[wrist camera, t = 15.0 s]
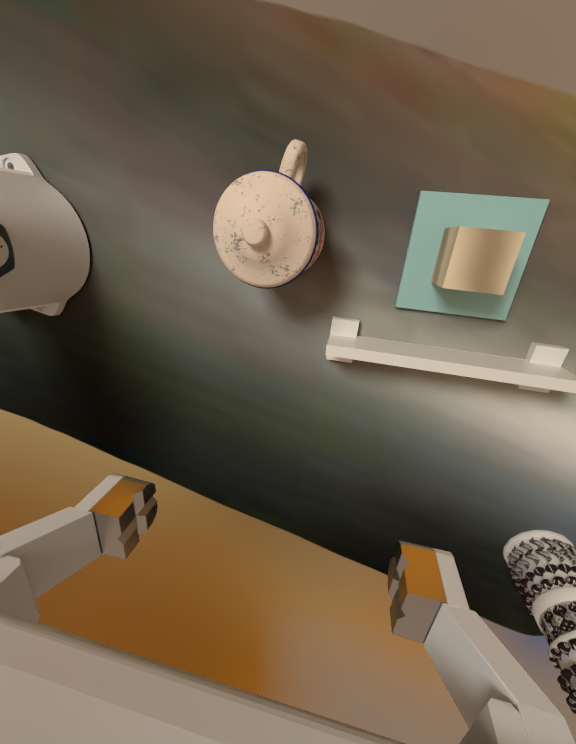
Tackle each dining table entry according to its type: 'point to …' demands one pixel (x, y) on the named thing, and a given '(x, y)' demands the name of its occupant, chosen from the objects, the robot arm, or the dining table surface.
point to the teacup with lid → (269, 224)
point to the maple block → (476, 259)
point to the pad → (467, 212)
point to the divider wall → (454, 359)
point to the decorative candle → (549, 595)
